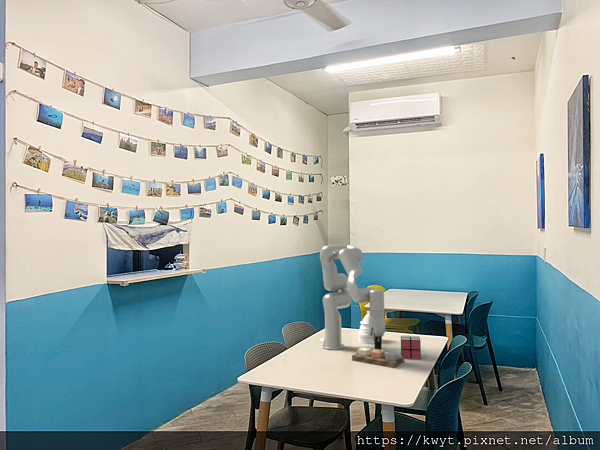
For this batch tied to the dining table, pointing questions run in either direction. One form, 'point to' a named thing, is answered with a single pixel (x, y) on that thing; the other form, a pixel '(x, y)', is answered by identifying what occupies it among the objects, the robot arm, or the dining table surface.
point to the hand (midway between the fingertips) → (378, 348)
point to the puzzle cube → (410, 347)
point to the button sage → (391, 356)
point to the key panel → (378, 360)
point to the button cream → (364, 351)
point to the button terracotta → (377, 354)
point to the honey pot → (365, 331)
